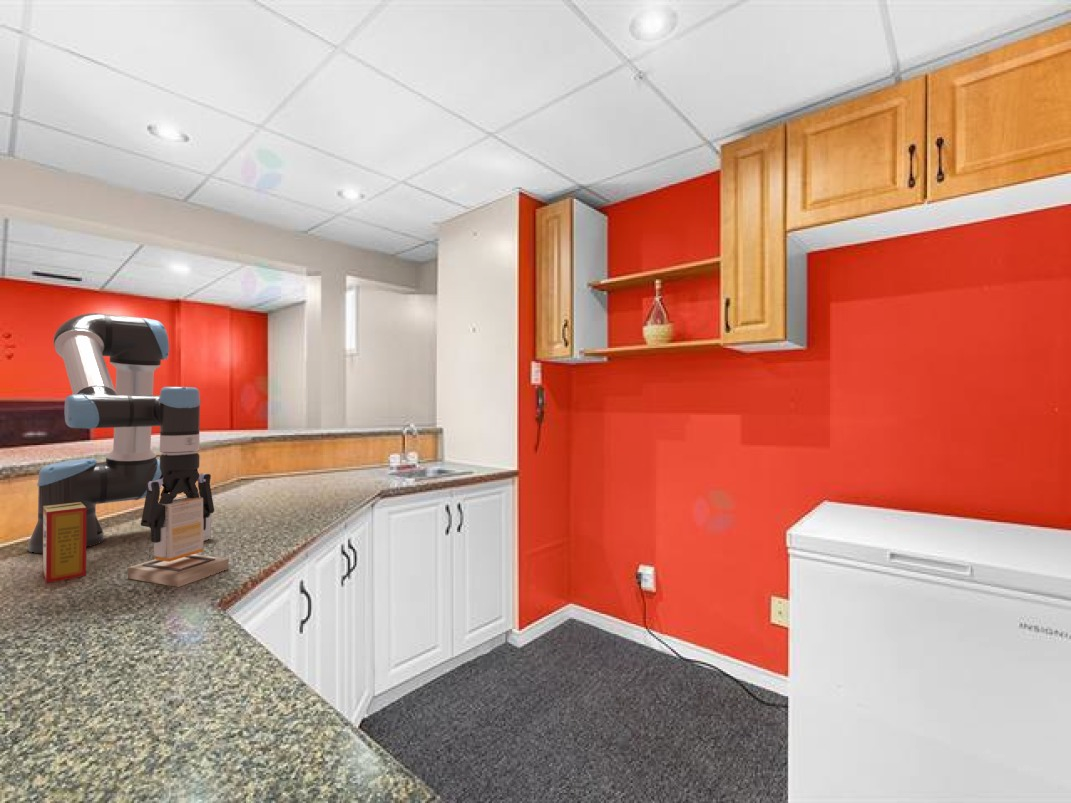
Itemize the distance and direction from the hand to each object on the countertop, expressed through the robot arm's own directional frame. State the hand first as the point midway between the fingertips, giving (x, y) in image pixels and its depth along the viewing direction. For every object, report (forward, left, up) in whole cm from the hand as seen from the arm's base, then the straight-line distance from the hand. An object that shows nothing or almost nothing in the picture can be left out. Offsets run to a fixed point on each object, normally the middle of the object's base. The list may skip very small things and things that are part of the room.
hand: (179, 550), depth 116 cm
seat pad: (0, 0, -5) cm, 5 cm away
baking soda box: (-25, -9, -6) cm, 27 cm away
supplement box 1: (0, 0, -1) cm, 1 cm away
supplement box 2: (-23, +20, -6) cm, 31 cm away
